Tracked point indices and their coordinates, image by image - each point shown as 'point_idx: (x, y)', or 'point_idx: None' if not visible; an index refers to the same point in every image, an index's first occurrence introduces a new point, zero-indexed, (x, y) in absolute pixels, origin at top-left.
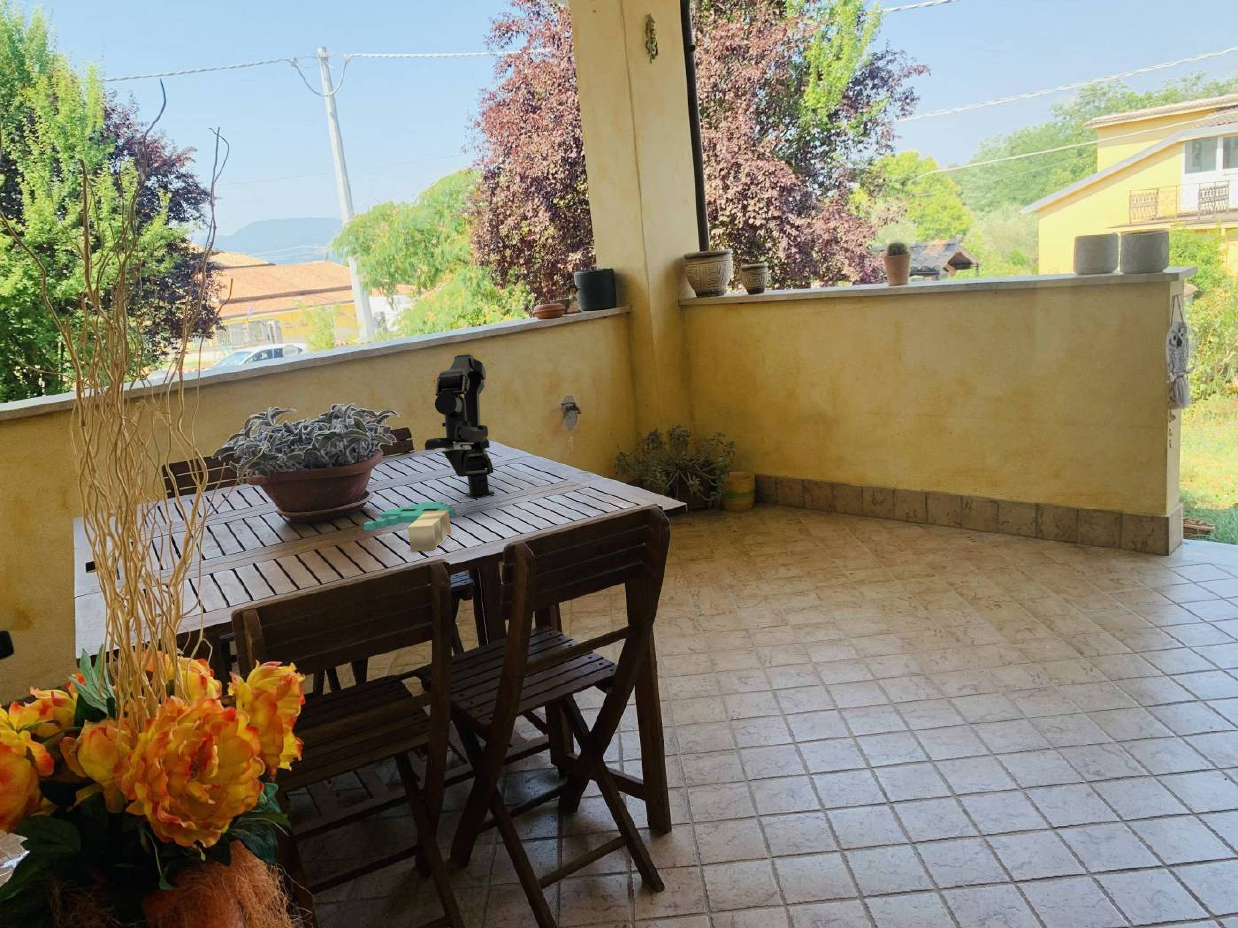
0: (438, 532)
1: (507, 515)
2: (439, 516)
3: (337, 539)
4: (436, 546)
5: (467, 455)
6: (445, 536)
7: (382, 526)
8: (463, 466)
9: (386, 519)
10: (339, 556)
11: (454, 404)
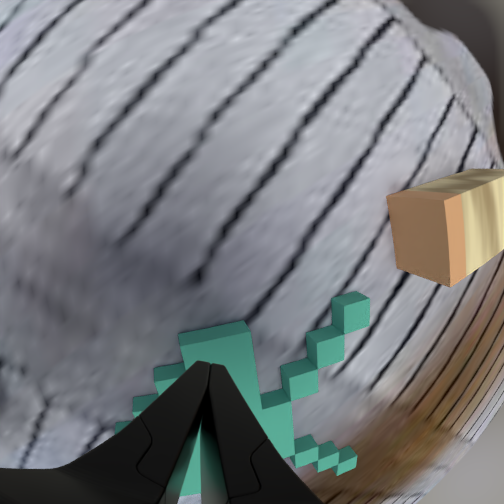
0: (477, 175)
1: (170, 79)
2: (482, 193)
3: (396, 448)
4: (470, 170)
5: (85, 481)
6: (429, 184)
7: (331, 444)
8: (184, 406)
9: (321, 457)
10: (476, 354)
11: None
